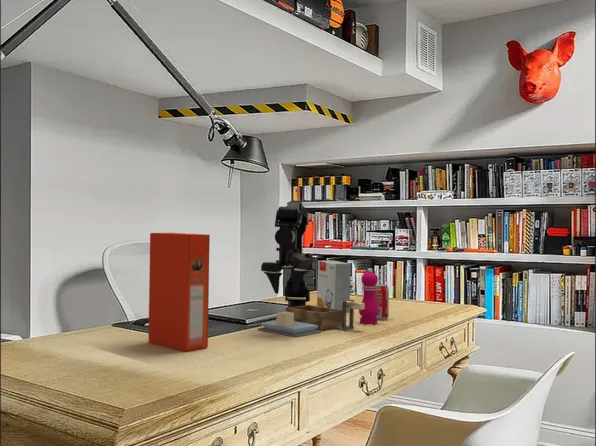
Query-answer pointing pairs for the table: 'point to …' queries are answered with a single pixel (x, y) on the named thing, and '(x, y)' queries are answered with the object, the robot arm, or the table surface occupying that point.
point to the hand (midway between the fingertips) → (286, 292)
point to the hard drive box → (333, 284)
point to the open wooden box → (323, 316)
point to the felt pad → (290, 333)
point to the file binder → (179, 290)
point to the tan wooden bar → (355, 305)
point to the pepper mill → (369, 298)
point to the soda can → (382, 301)
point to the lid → (288, 324)
